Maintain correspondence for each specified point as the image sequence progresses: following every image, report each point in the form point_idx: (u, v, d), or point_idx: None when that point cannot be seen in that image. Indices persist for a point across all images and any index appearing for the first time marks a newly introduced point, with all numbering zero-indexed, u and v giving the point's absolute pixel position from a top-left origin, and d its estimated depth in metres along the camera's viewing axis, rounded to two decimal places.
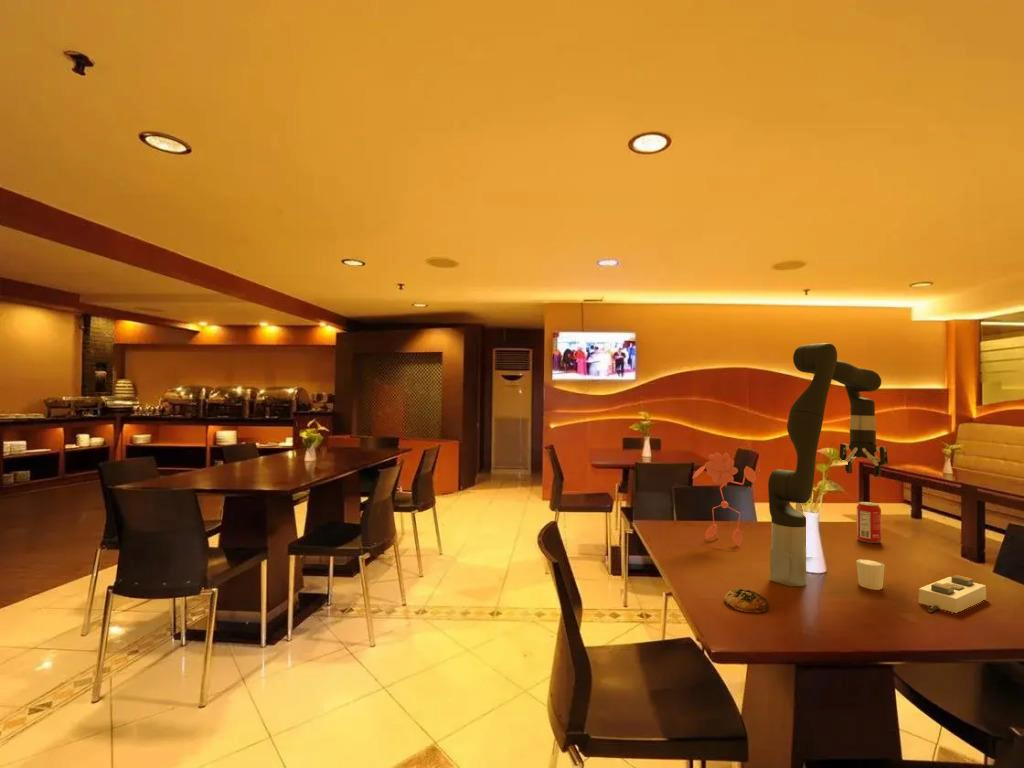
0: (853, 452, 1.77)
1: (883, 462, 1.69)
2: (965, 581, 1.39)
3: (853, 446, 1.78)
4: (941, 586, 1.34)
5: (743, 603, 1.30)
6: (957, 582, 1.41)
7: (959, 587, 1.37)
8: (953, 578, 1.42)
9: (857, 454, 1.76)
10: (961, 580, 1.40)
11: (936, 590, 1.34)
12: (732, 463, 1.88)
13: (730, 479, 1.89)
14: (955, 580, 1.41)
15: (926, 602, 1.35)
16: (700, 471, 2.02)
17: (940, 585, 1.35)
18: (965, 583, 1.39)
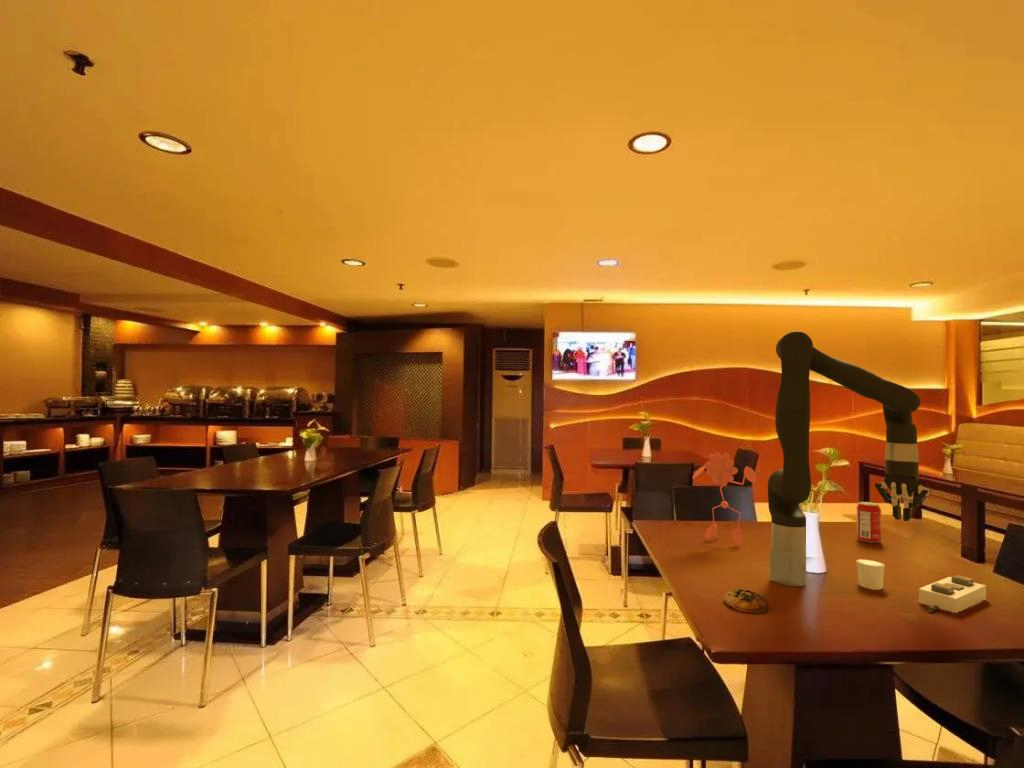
0: (893, 489, 1.43)
1: (915, 504, 1.39)
2: (965, 581, 1.39)
3: (889, 479, 1.45)
4: (941, 586, 1.34)
5: (743, 603, 1.30)
6: (957, 582, 1.41)
7: (959, 587, 1.37)
8: (953, 578, 1.42)
9: (899, 489, 1.43)
10: (961, 580, 1.40)
11: (936, 590, 1.34)
12: (732, 463, 1.88)
13: (730, 479, 1.89)
14: (955, 580, 1.41)
15: (926, 602, 1.35)
16: (700, 471, 2.02)
17: (940, 585, 1.35)
18: (965, 583, 1.39)
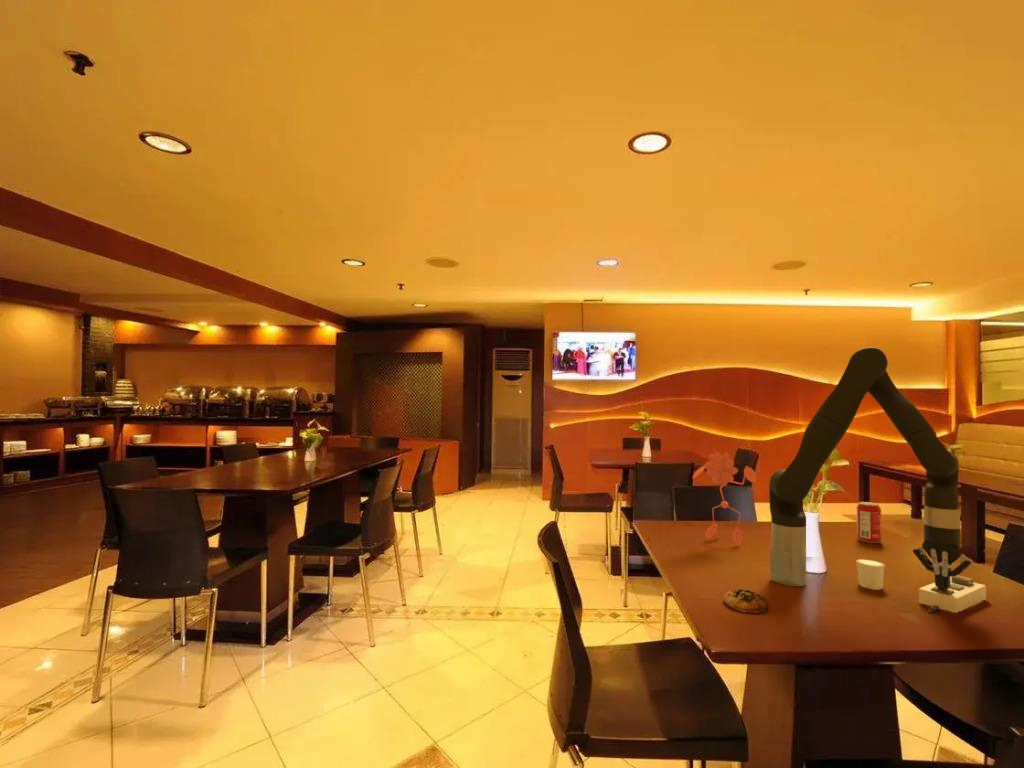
0: (934, 556, 1.35)
1: (954, 573, 1.32)
2: (965, 581, 1.39)
3: (928, 544, 1.37)
4: (941, 590, 1.34)
5: (742, 603, 1.30)
6: (957, 582, 1.41)
7: (959, 587, 1.37)
8: (953, 578, 1.42)
9: (940, 557, 1.34)
10: (961, 580, 1.40)
11: None
12: (732, 463, 1.88)
13: (730, 479, 1.89)
14: (955, 580, 1.41)
15: (926, 602, 1.35)
16: (700, 471, 2.02)
17: None
18: (965, 583, 1.39)
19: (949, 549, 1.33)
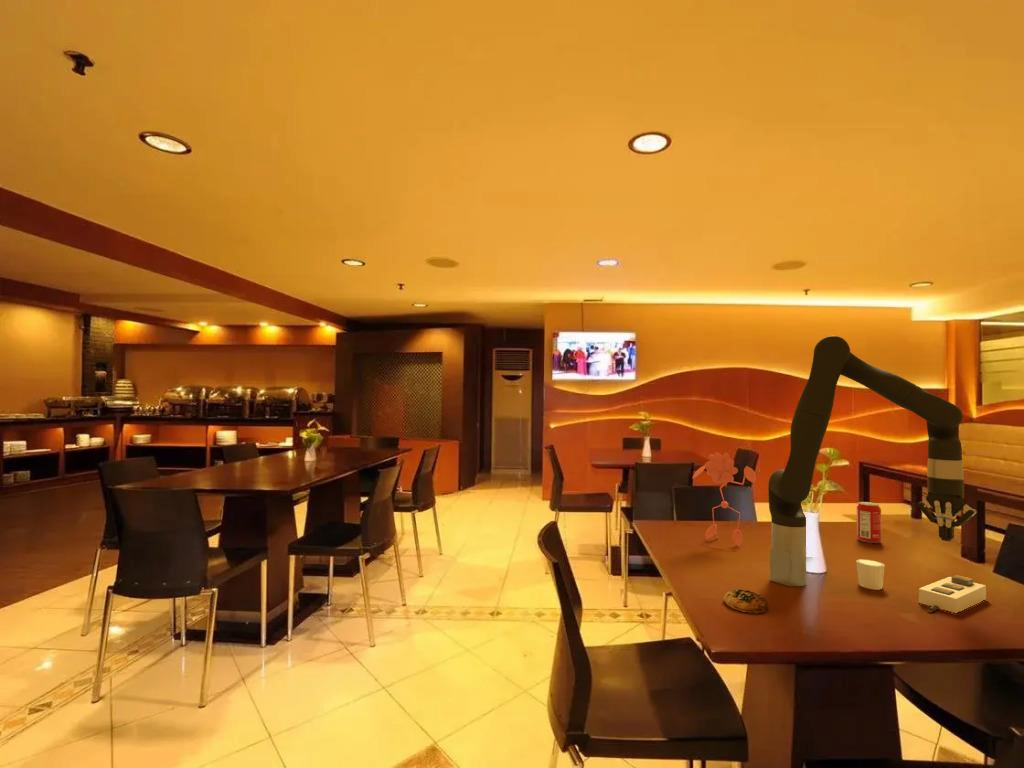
0: (938, 508, 1.36)
1: (957, 523, 1.33)
2: (965, 581, 1.39)
3: (931, 497, 1.38)
4: (941, 590, 1.34)
5: (742, 603, 1.29)
6: (957, 582, 1.41)
7: (959, 587, 1.37)
8: (953, 578, 1.42)
9: (944, 508, 1.36)
10: (961, 580, 1.40)
11: None
12: (732, 463, 1.88)
13: (730, 479, 1.89)
14: (955, 580, 1.41)
15: (926, 602, 1.35)
16: (700, 471, 2.02)
17: (940, 589, 1.35)
18: (965, 583, 1.39)
19: (952, 500, 1.34)
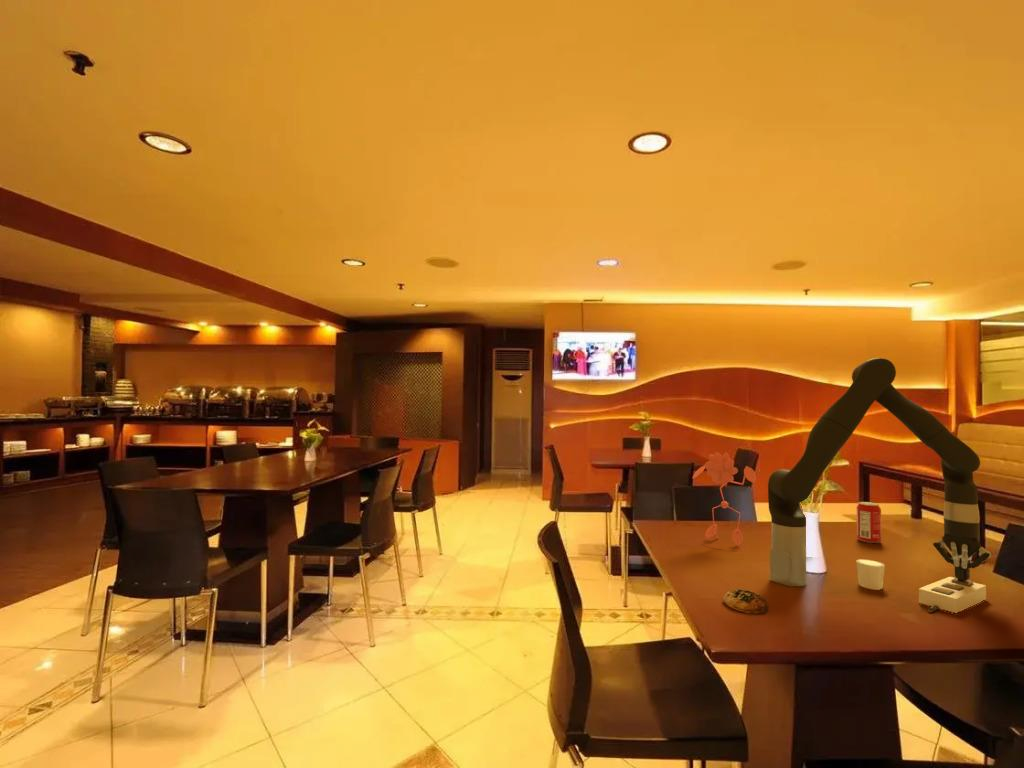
0: (954, 549, 1.42)
1: (973, 565, 1.38)
2: (965, 584, 1.39)
3: (947, 538, 1.43)
4: (941, 590, 1.34)
5: (742, 603, 1.29)
6: None
7: (959, 587, 1.37)
8: (953, 581, 1.42)
9: (960, 549, 1.41)
10: (961, 583, 1.40)
11: None
12: (732, 463, 1.88)
13: (730, 479, 1.89)
14: None
15: (926, 602, 1.35)
16: (700, 471, 2.02)
17: (940, 589, 1.35)
18: None
19: (969, 542, 1.39)
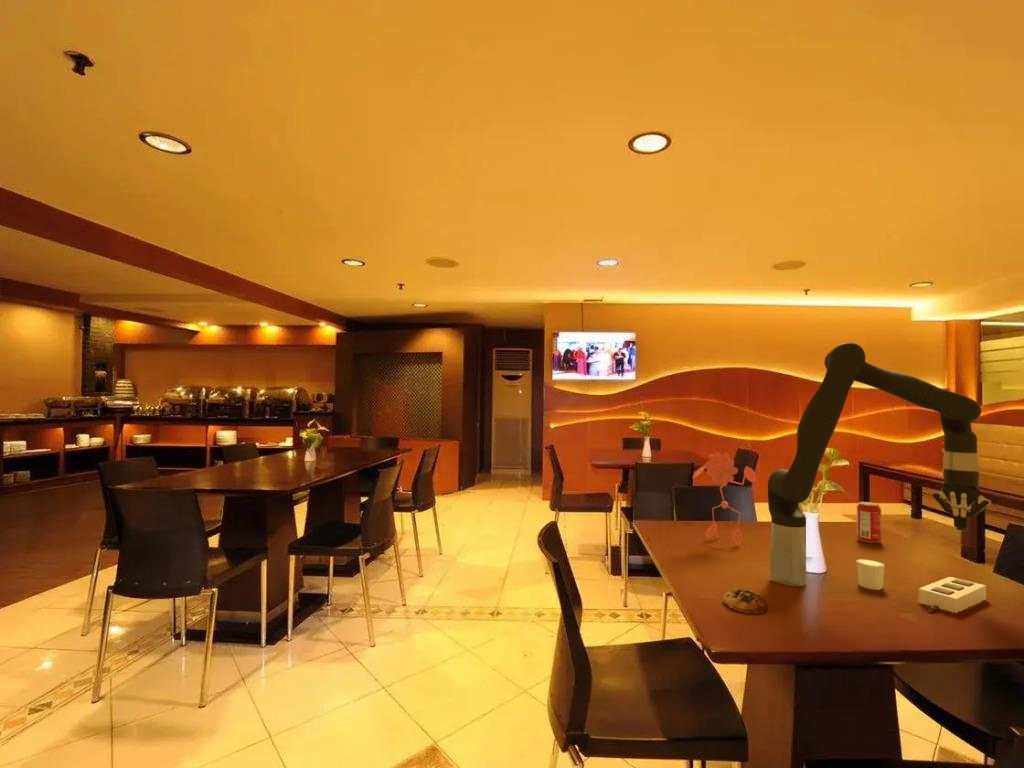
0: (953, 499, 1.42)
1: (972, 513, 1.39)
2: (965, 585, 1.39)
3: (947, 488, 1.44)
4: (941, 590, 1.34)
5: (742, 603, 1.29)
6: None
7: (959, 587, 1.37)
8: (953, 582, 1.41)
9: (959, 499, 1.41)
10: (961, 584, 1.40)
11: None
12: (732, 463, 1.88)
13: (730, 479, 1.89)
14: None
15: (926, 602, 1.35)
16: (700, 471, 2.02)
17: (940, 589, 1.35)
18: None
19: (968, 491, 1.40)
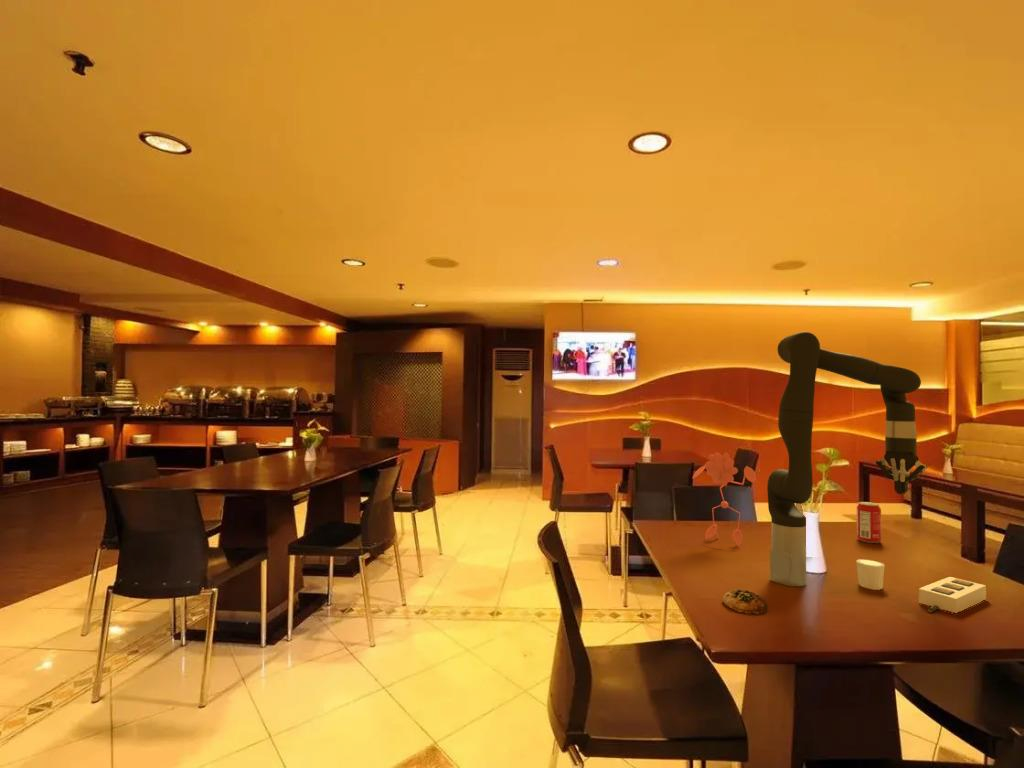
0: (893, 465, 1.52)
1: (910, 478, 1.48)
2: (965, 585, 1.39)
3: (888, 455, 1.54)
4: (941, 590, 1.34)
5: (741, 604, 1.29)
6: None
7: (959, 587, 1.37)
8: (953, 582, 1.41)
9: (899, 465, 1.51)
10: (961, 584, 1.40)
11: None
12: (732, 463, 1.88)
13: (730, 479, 1.89)
14: None
15: (926, 602, 1.35)
16: (700, 471, 2.02)
17: (940, 589, 1.35)
18: None
19: (906, 457, 1.50)
